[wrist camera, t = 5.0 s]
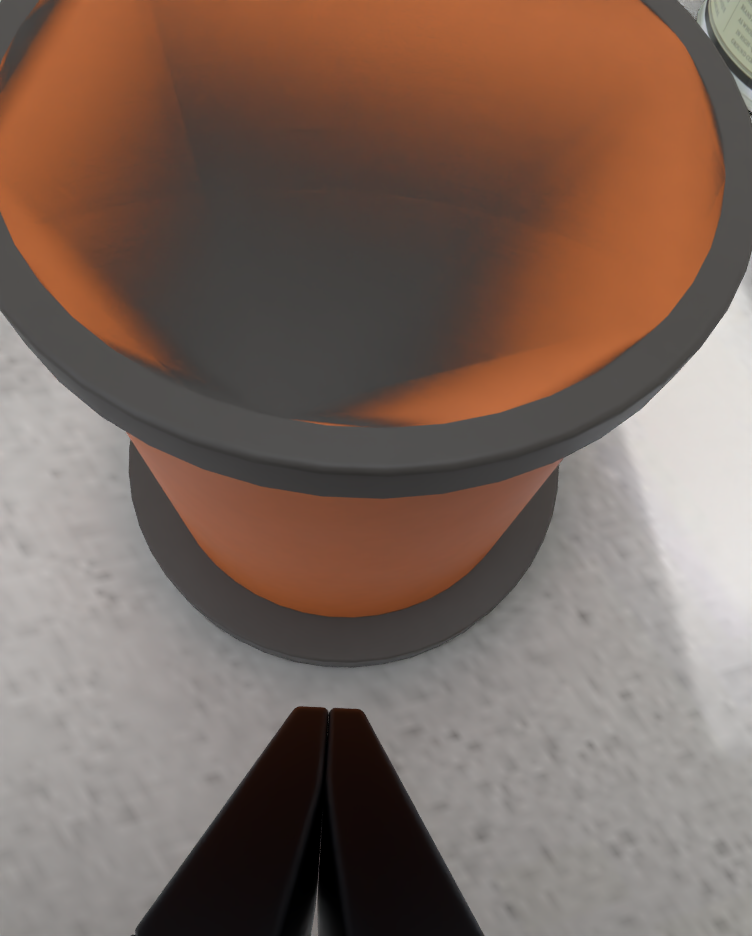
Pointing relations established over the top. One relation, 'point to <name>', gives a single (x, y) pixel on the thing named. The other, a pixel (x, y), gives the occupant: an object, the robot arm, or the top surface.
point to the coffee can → (731, 38)
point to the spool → (363, 277)
